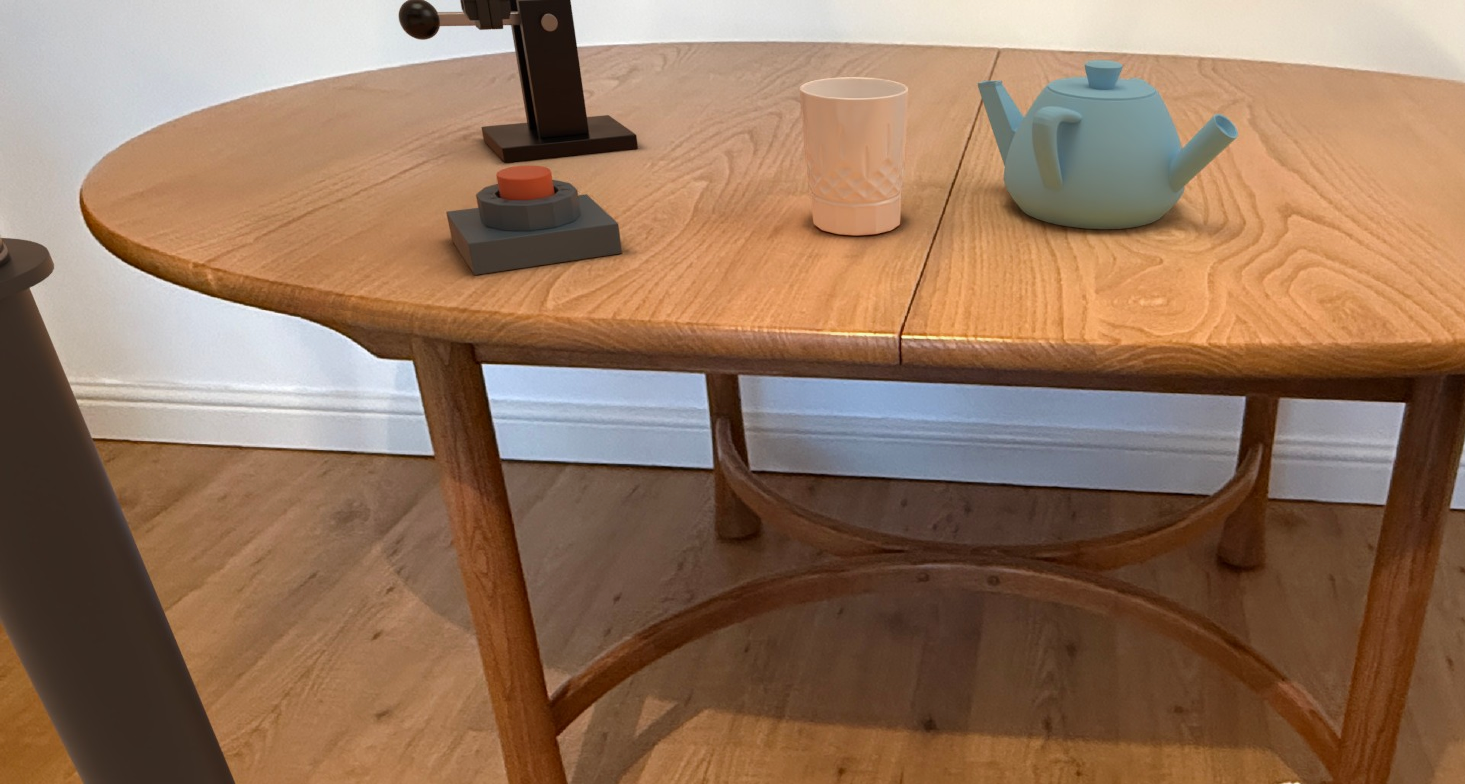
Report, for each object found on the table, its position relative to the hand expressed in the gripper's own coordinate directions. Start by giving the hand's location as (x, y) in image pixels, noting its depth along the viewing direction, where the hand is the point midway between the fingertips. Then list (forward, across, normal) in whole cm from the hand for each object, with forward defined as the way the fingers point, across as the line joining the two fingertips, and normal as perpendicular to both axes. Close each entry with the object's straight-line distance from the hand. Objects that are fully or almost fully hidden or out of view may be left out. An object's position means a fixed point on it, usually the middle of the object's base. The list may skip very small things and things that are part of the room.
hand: (488, 27), depth 75 cm
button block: (+14, 0, +2) cm, 15 cm away
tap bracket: (+14, -9, -27) cm, 32 cm away
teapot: (+14, -43, +11) cm, 46 cm away
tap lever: (+5, -4, -27) cm, 28 cm away
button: (+11, 0, +2) cm, 11 cm away
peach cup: (+14, -24, +7) cm, 28 cm away
